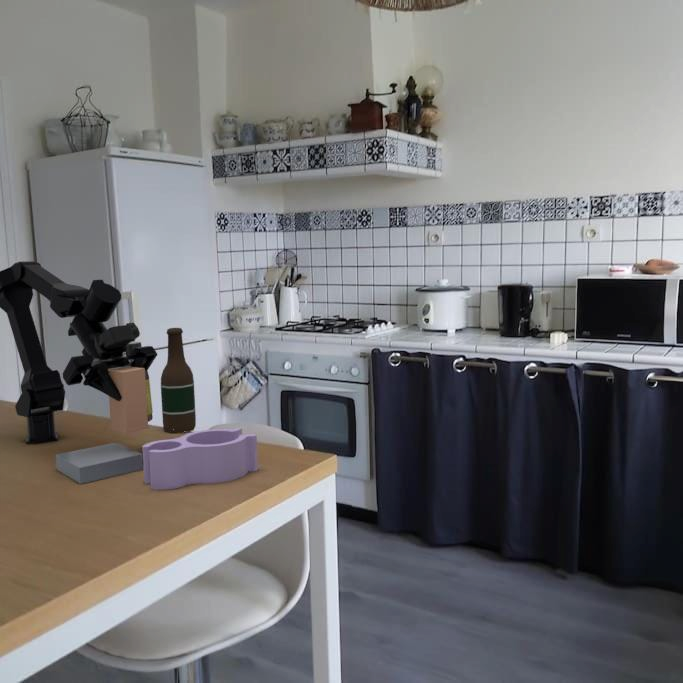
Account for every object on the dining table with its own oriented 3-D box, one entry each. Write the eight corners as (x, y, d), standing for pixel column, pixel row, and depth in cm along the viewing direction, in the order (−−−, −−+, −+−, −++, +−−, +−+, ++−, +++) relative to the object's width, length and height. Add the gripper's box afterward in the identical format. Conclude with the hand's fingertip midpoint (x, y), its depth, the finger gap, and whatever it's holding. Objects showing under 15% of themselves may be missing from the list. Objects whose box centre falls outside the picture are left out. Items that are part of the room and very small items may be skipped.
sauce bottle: (156, 418, 174) (152, 340, 172) (147, 424, 168) (142, 343, 166) (131, 418, 175) (126, 340, 173) (121, 424, 169) (116, 344, 167)
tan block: (111, 430, 135) (107, 369, 134) (132, 424, 139) (129, 366, 138) (126, 433, 132) (123, 372, 131) (148, 428, 136) (144, 368, 135)
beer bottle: (167, 435, 157) (161, 330, 154) (159, 428, 164) (153, 328, 161) (200, 430, 161) (195, 328, 158) (191, 423, 168) (186, 325, 165)
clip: (159, 496, 117) (157, 457, 116) (137, 477, 128) (135, 441, 127) (264, 474, 128) (263, 437, 127) (236, 458, 138) (235, 424, 138)
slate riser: (56, 469, 133) (55, 454, 133) (116, 456, 141) (115, 442, 141) (80, 484, 124) (79, 467, 124) (142, 469, 132) (141, 454, 132)
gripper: (66, 314, 128) (105, 378, 123) (149, 307, 143) (187, 364, 137) (46, 353, 134) (83, 416, 128) (128, 342, 148) (163, 398, 143)
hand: (131, 397), depth 134 cm, fingers closed on tan block, 5 cm apart
